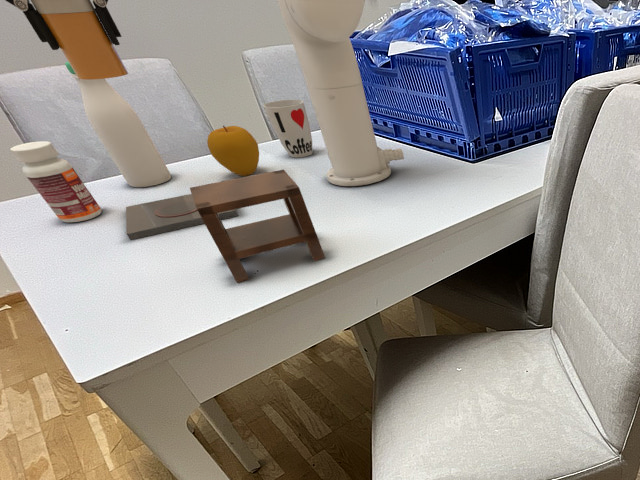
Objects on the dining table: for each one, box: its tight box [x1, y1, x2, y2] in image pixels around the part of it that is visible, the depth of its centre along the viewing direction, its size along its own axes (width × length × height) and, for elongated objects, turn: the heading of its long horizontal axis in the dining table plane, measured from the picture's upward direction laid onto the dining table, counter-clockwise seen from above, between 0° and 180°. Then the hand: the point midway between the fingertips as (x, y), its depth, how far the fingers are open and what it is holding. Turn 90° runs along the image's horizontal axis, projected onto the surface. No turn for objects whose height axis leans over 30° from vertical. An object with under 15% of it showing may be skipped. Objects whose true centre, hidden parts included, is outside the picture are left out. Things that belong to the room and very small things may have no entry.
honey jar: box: [30, 0, 129, 80], centre depth 61 cm, size 6×6×8 cm
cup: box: [262, 99, 314, 158], centre depth 100 cm, size 8×8×10 cm
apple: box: [206, 124, 260, 177], centre depth 91 cm, size 9×9×9 cm
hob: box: [125, 193, 239, 241], centre depth 78 cm, size 16×14×1 cm
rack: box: [189, 168, 326, 283], centre depth 62 cm, size 12×9×10 cm
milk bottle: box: [64, 61, 172, 188], centre depth 84 cm, size 8×8×20 cm
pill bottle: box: [10, 140, 103, 223], centre depth 75 cm, size 6×6×11 cm
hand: (86, 45), depth 62 cm, fingers closed on honey jar, 6 cm apart
